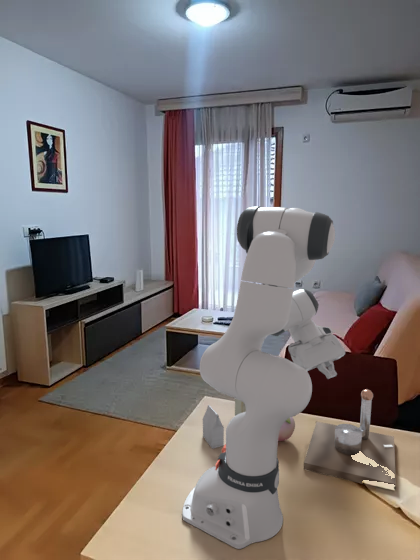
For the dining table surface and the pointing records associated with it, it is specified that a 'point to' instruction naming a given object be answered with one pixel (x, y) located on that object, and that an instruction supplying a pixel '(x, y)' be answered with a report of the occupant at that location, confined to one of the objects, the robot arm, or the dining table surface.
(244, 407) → the skincare box
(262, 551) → the dining table surface
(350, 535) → the dining table surface
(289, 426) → the decorative fruit
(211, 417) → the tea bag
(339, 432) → the crank handle
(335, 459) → the stand
